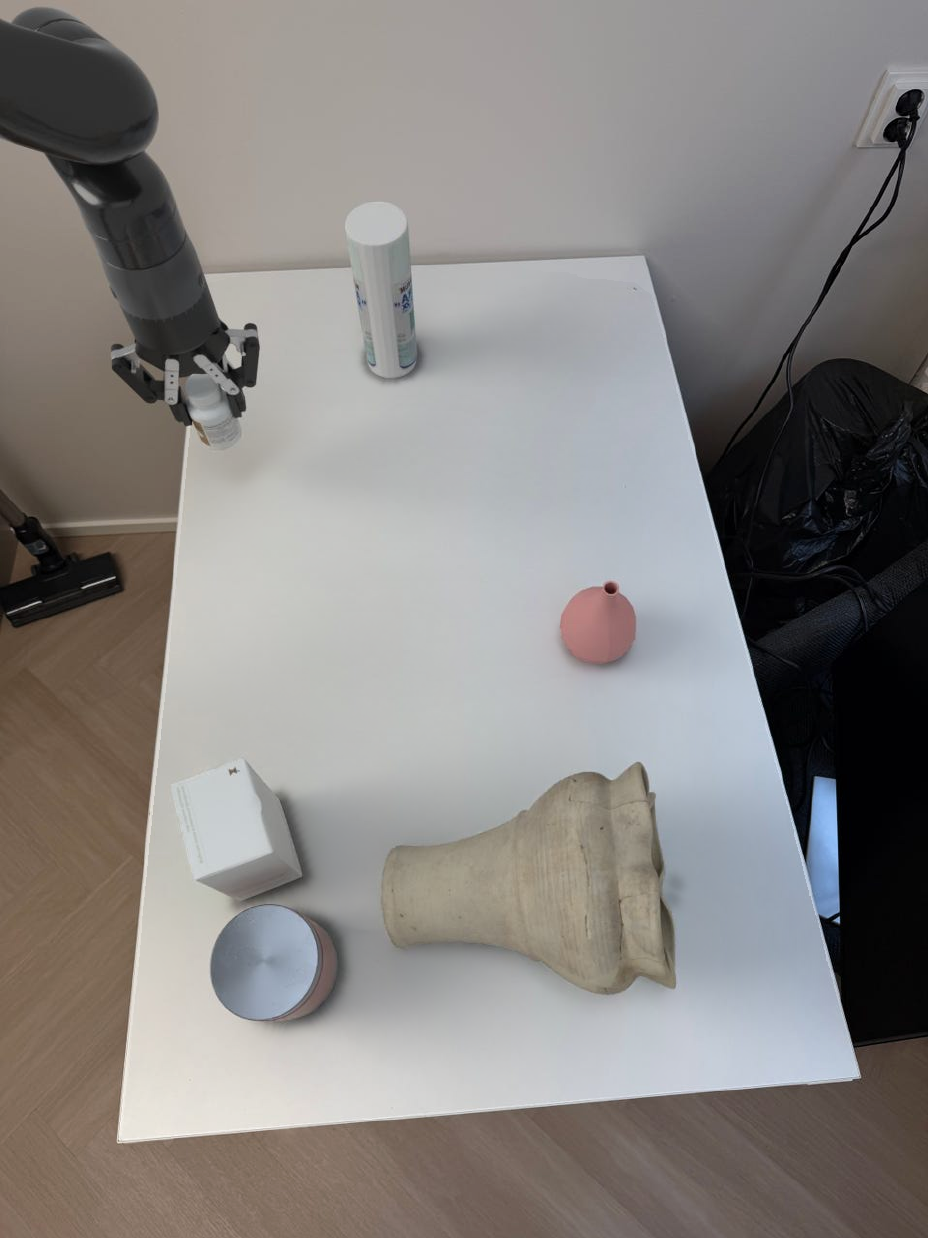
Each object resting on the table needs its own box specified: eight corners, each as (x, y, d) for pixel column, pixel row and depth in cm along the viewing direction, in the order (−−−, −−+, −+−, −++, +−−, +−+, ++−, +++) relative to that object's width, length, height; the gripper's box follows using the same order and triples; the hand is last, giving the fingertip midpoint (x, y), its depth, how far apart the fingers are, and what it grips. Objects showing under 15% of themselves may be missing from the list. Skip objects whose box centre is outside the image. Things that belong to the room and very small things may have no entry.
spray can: (370, 337, 106) (349, 198, 88) (421, 341, 106) (411, 202, 88) (362, 377, 103) (339, 242, 85) (415, 381, 103) (403, 247, 85)
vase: (298, 1045, 61) (696, 1038, 55) (295, 745, 67) (655, 709, 61) (394, 993, 81) (692, 984, 75) (385, 767, 87) (661, 742, 81)
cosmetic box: (217, 820, 80) (164, 780, 66) (284, 795, 81) (245, 751, 67) (239, 906, 77) (188, 883, 63) (308, 879, 78) (274, 850, 64)
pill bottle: (197, 423, 90) (175, 373, 83) (238, 414, 90) (220, 364, 83) (203, 455, 88) (181, 407, 81) (245, 446, 88) (226, 397, 82)
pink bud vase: (611, 598, 90) (631, 542, 80) (642, 660, 87) (667, 610, 76) (545, 620, 89) (556, 566, 78) (573, 684, 86) (588, 637, 75)
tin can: (248, 1030, 73) (213, 1033, 63) (238, 928, 76) (204, 916, 66) (345, 1008, 74) (326, 1007, 64) (331, 908, 77) (311, 892, 67)
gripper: (240, 240, 73) (278, 376, 88) (72, 264, 72) (140, 398, 87) (249, 302, 70) (287, 432, 85) (73, 329, 69) (144, 456, 84)
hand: (212, 414), depth 86 cm, fingers closed on pill bottle, 4 cm apart
